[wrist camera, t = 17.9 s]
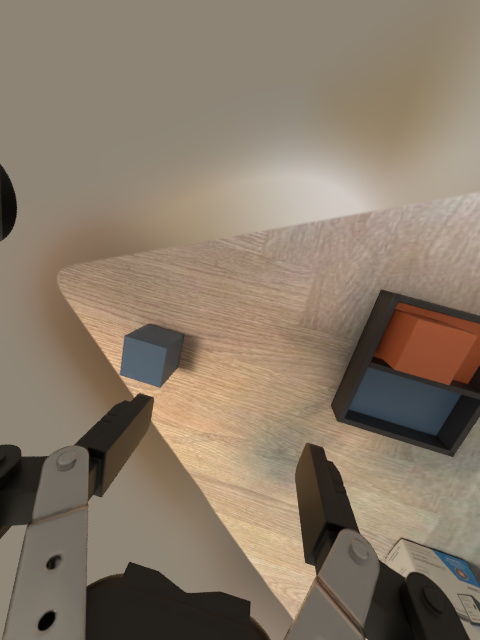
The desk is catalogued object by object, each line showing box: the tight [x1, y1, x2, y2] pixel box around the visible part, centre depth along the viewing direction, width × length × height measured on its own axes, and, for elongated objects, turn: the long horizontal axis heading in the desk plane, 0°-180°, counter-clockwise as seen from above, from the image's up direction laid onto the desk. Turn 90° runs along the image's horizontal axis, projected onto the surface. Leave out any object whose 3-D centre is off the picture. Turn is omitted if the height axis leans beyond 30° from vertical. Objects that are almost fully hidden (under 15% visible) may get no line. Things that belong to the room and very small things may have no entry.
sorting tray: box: [331, 290, 480, 457], centre depth 24 cm, size 12×14×3 cm
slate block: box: [120, 324, 184, 387], centre depth 26 cm, size 5×5×5 cm
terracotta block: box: [375, 309, 478, 385], centre depth 21 cm, size 5×5×5 cm
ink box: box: [386, 539, 480, 640], centre depth 25 cm, size 9×5×12 cm, turn 75°
